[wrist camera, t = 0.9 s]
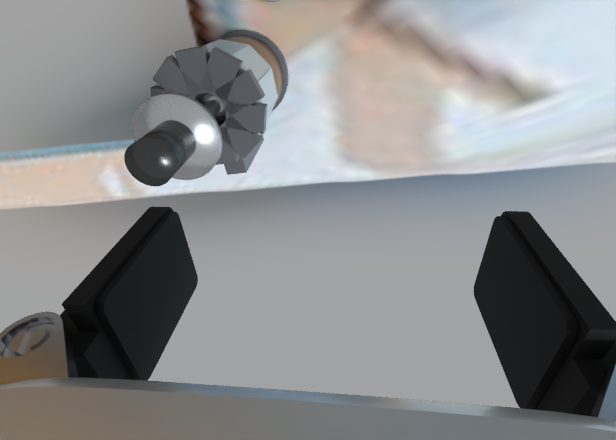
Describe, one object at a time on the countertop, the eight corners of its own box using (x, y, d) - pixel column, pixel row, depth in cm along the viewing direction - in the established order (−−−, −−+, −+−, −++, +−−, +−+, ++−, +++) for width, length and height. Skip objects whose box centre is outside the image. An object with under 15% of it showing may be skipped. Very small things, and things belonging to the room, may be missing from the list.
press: (279, 22, 38) (248, 37, 26) (299, 124, 44) (281, 176, 32) (197, 38, 40) (131, 60, 27) (226, 135, 46) (183, 188, 34)
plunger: (238, 63, 29) (176, 105, 18) (256, 132, 32) (212, 203, 21) (172, 74, 30) (76, 122, 19) (196, 141, 33) (125, 213, 22)
